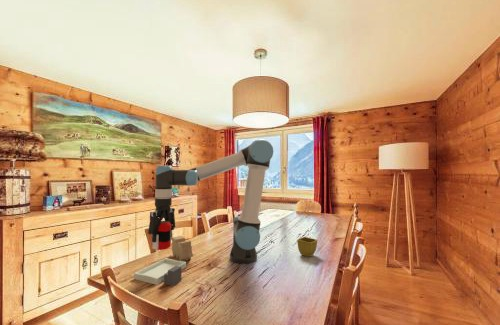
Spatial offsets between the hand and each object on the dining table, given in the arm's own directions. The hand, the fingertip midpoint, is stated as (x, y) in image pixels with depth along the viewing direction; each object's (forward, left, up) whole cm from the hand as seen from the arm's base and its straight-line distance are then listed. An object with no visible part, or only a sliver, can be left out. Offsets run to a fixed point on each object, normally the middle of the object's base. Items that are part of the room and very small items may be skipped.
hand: (162, 246), depth 107 cm
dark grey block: (-11, +5, -13) cm, 17 cm away
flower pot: (-60, -51, -13) cm, 80 cm away
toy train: (+4, -19, -13) cm, 23 cm away
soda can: (0, 0, -1) cm, 1 cm away
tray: (0, 0, -12) cm, 12 cm away
